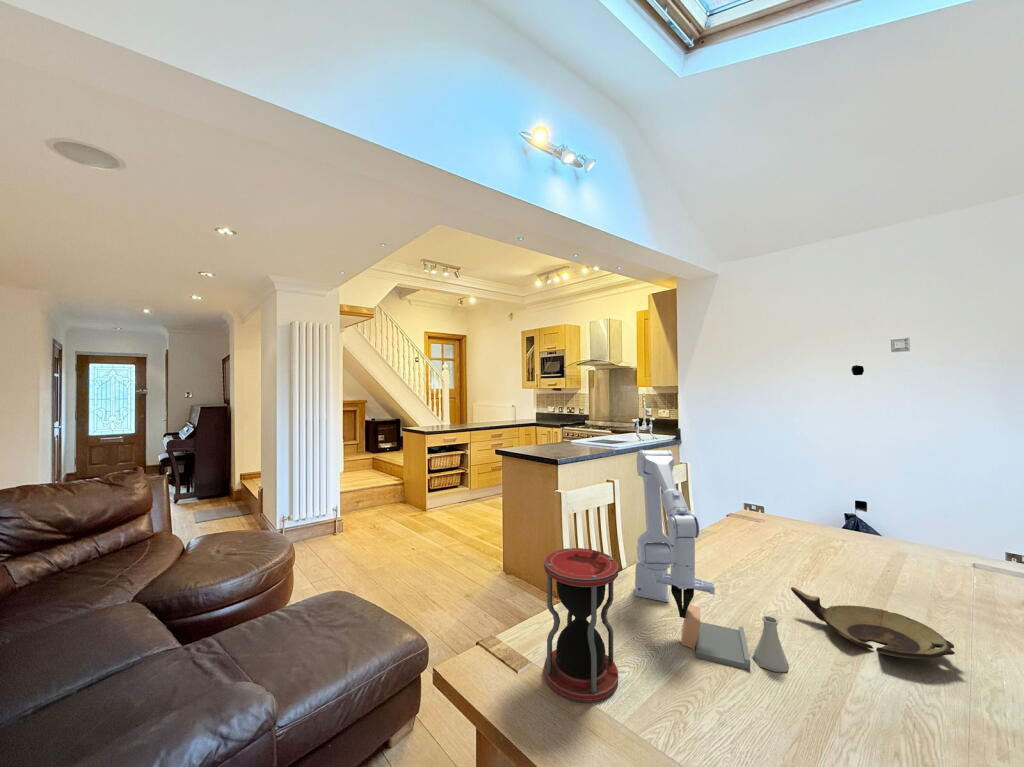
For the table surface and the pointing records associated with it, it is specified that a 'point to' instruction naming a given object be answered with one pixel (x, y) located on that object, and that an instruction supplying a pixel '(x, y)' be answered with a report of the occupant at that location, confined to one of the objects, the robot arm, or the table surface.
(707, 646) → the grey tray
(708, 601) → the table surface
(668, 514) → the robot arm
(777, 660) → the flask
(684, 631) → the slab
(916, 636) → the oil lamp
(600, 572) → the hourglass
